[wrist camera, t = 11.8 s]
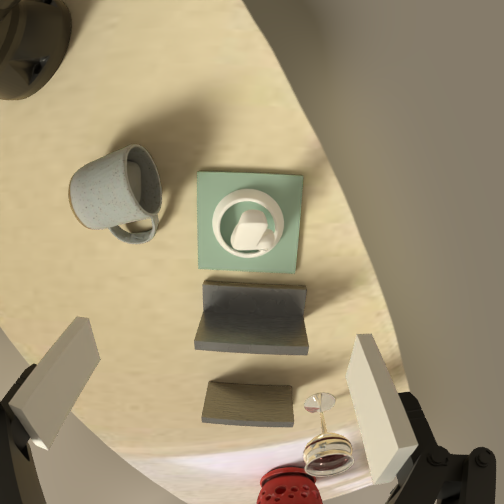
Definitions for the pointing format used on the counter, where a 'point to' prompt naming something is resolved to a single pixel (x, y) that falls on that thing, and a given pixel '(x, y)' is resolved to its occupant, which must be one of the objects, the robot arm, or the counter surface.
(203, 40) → the counter surface
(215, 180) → the mat
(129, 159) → the ceramic mug
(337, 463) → the wineglass
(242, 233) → the white curved piece
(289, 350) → the dark grey bookends
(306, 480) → the plant pot
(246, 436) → the counter surface
